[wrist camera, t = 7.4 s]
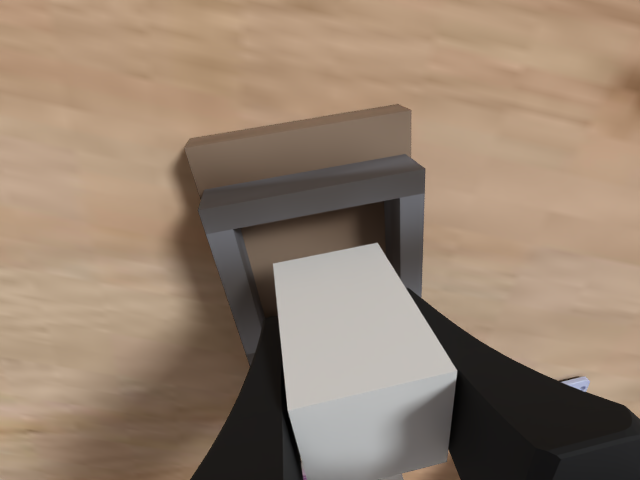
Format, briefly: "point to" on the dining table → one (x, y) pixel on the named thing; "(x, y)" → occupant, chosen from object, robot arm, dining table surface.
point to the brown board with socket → (307, 201)
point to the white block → (360, 368)
